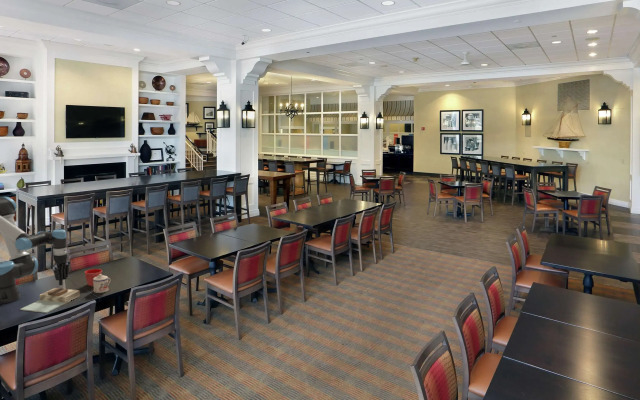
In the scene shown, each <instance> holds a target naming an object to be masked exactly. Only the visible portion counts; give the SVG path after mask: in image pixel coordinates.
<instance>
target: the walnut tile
mask: <svg viewBox="0 0 640 400" xmlns="http://www.w3.org/2000/svg"><path fill="white" fill-rule="evenodd" d="M54 288H55V289H54ZM54 288H52V289H53V290H51V289H50V290H51V291H49V290H48V291H49V292H48V295H53V296H61V295H63V294H65V293H67V292H68V288H66V289H62V288H60V287H54Z"/></svg>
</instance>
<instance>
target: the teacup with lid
mask: <svg viewBox="0 0 640 400" xmlns="http://www.w3.org/2000/svg"><path fill="white" fill-rule="evenodd" d="M93 283H94V286H93V293H96V294H103V293H106V292H108V291H109V285H110V283H111V278H110V277H108V276H107V275H103V273H102V274H99V276H97V277H95V278H93Z"/></svg>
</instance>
